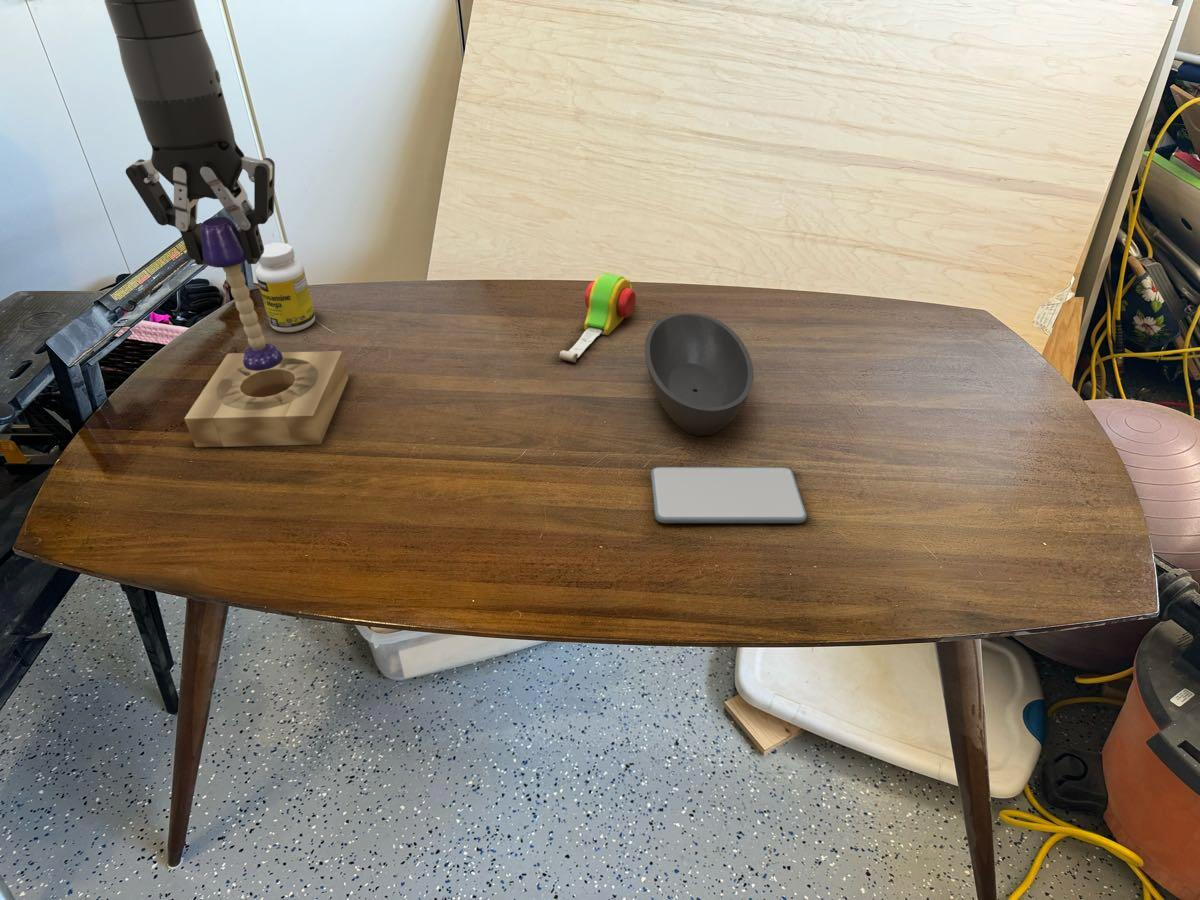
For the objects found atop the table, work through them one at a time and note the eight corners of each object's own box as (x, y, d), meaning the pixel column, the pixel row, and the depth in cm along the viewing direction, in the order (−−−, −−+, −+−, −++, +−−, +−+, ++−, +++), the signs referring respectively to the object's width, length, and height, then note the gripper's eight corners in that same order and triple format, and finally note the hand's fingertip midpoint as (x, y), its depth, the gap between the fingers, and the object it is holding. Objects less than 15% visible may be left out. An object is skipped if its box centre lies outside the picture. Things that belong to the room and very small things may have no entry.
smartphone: (808, 519, 78) (656, 518, 77) (807, 526, 78) (655, 526, 78) (791, 465, 84) (650, 465, 84) (790, 473, 85) (650, 472, 85)
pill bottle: (261, 330, 111) (238, 255, 104) (287, 310, 115) (267, 237, 109) (300, 336, 109) (279, 261, 102) (325, 316, 114) (307, 242, 107)
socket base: (195, 447, 89) (183, 418, 87) (236, 380, 100) (227, 353, 98) (320, 444, 89) (313, 415, 87) (348, 378, 100) (342, 350, 98)
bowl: (727, 353, 105) (732, 311, 101) (763, 455, 87) (770, 408, 84) (635, 356, 104) (637, 313, 101) (653, 459, 87) (655, 412, 83)
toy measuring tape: (647, 306, 116) (649, 263, 112) (587, 369, 102) (586, 323, 98) (608, 297, 118) (608, 255, 114) (544, 358, 104) (541, 313, 100)
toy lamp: (269, 375, 88) (226, 230, 78) (230, 371, 89) (182, 228, 79) (289, 353, 92) (250, 213, 82) (252, 350, 93) (208, 210, 83)
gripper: (77, 98, 70) (145, 278, 80) (241, 95, 70) (288, 275, 80) (116, 78, 76) (174, 248, 86) (267, 76, 76) (307, 246, 86)
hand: (229, 260), depth 83 cm, fingers closed on toy lamp, 4 cm apart
